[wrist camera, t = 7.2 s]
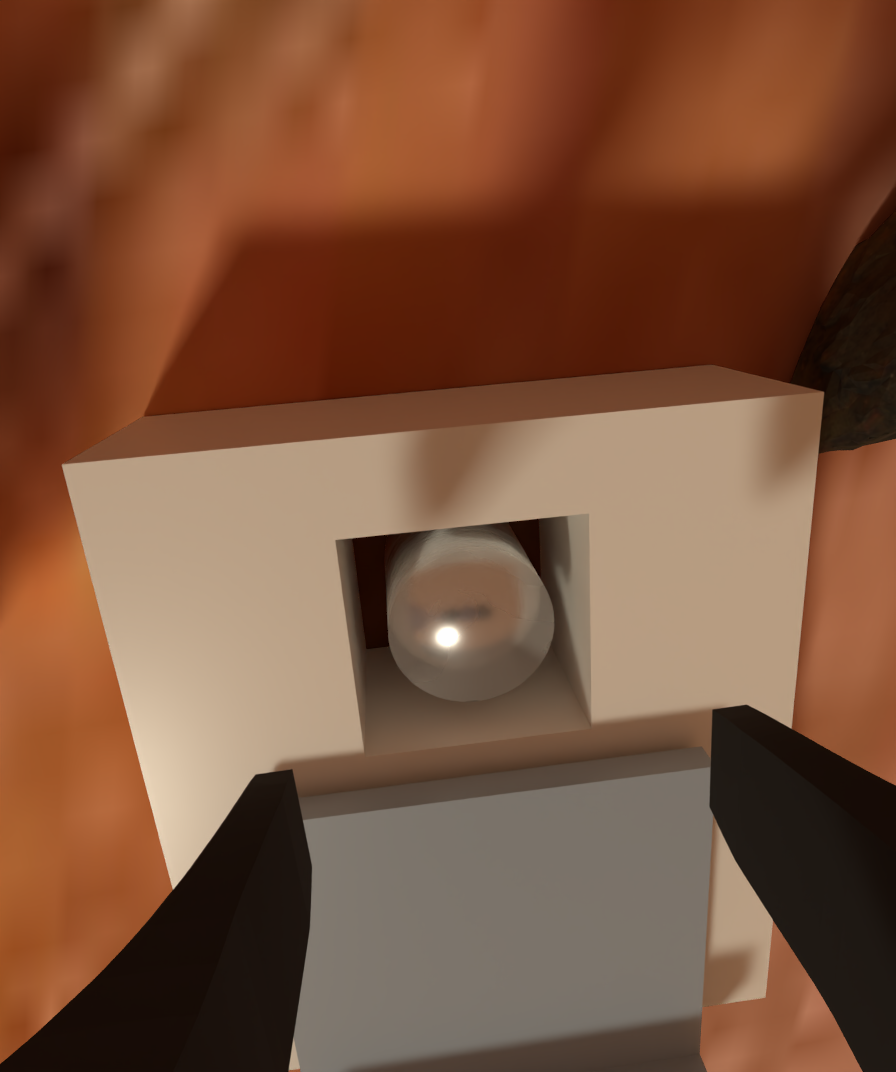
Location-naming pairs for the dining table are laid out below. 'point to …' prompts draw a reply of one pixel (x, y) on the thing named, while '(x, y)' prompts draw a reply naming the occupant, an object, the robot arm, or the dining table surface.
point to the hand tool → (856, 348)
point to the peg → (465, 610)
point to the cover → (511, 921)
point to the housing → (437, 503)
